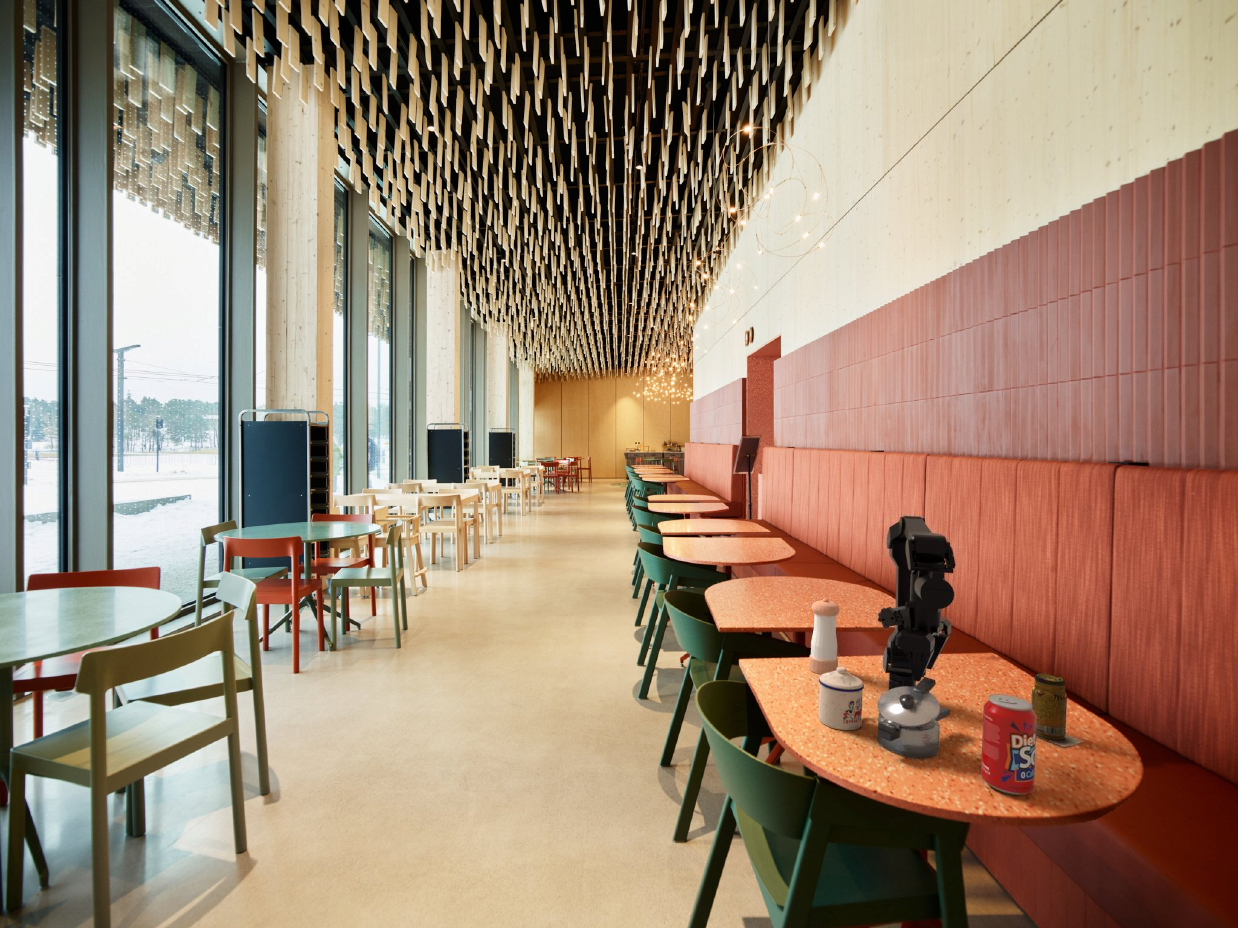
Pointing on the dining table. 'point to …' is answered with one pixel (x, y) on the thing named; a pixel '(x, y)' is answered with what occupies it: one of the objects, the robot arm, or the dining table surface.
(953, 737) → the dining table surface
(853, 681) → the teacup with lid
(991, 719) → the soda can
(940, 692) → the dining table surface
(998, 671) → the dining table surface
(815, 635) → the pepper shaker
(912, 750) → the pot
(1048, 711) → the condiment
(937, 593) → the robot arm
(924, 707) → the lid
